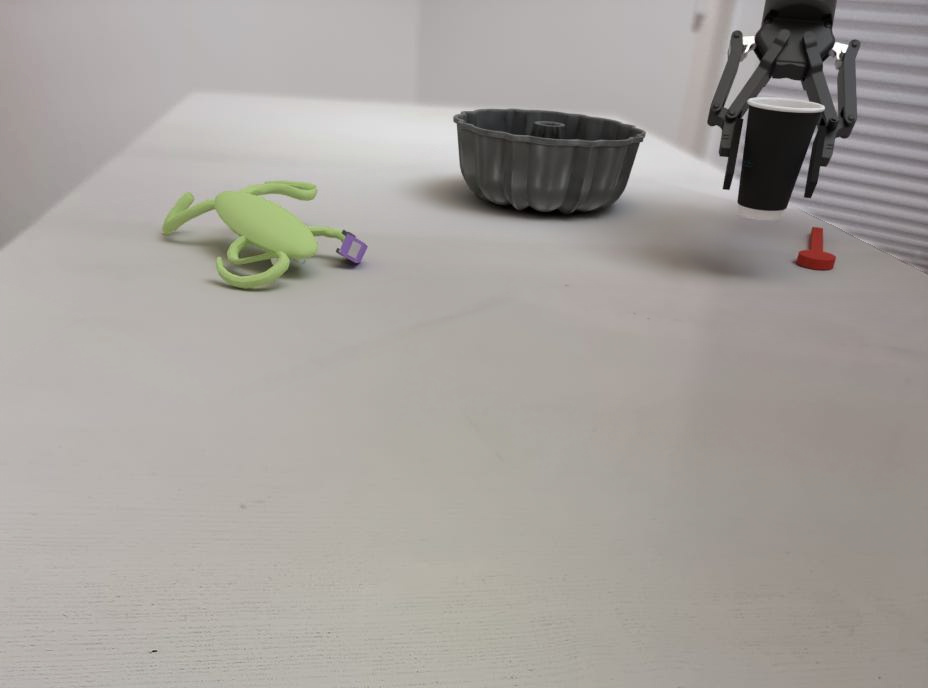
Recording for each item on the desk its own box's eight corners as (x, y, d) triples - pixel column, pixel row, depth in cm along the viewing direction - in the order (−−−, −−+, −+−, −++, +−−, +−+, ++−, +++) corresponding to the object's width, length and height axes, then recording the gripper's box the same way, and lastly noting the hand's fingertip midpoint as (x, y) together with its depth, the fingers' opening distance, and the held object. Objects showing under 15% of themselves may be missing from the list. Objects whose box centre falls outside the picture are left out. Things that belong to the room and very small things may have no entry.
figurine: (300, 217, 116) (298, 168, 113) (396, 277, 98) (398, 221, 95) (154, 228, 108) (147, 176, 105) (231, 295, 90) (226, 235, 87)
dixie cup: (810, 220, 102) (841, 107, 95) (761, 226, 98) (789, 109, 91) (757, 204, 107) (783, 96, 100) (708, 209, 103) (731, 97, 97)
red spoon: (832, 237, 123) (835, 227, 123) (833, 272, 110) (836, 261, 109) (799, 232, 124) (801, 223, 124) (795, 266, 111) (798, 256, 110)
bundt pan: (539, 174, 145) (546, 102, 139) (671, 210, 130) (686, 131, 124) (411, 191, 131) (413, 112, 125) (543, 235, 116) (553, 147, 110)
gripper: (888, 31, 102) (858, 217, 100) (700, 17, 106) (667, 197, 103) (913, -27, 95) (882, 172, 92) (710, -39, 98) (675, 153, 96)
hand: (769, 185), depth 98 cm, fingers closed on dixie cup, 8 cm apart
